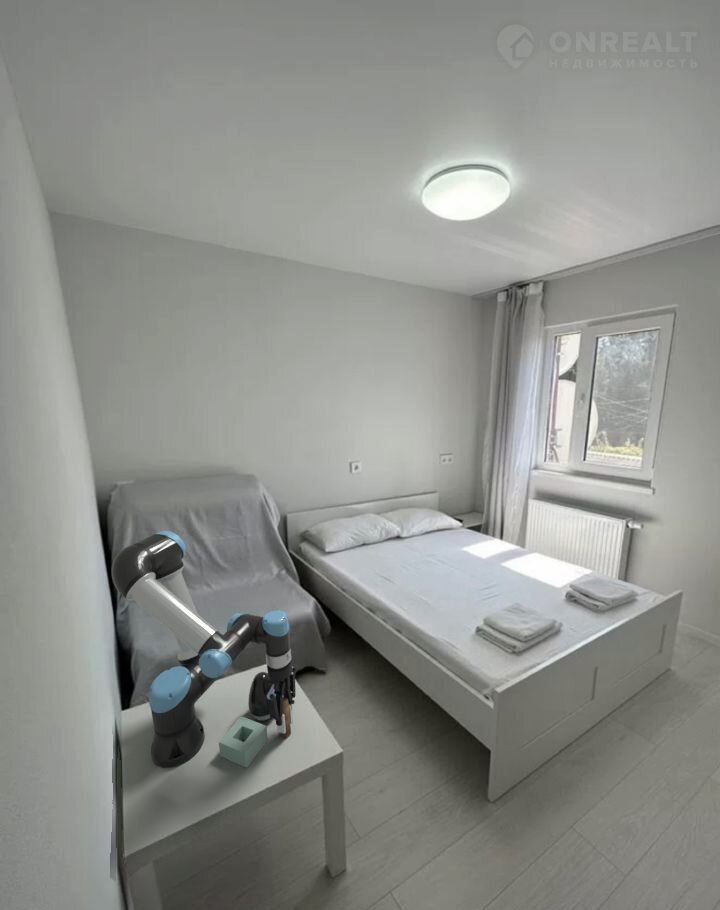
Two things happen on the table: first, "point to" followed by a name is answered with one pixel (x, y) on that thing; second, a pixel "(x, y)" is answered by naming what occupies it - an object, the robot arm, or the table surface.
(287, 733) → the peg
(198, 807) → the table surface
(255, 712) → the pump dispenser
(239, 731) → the socket block
